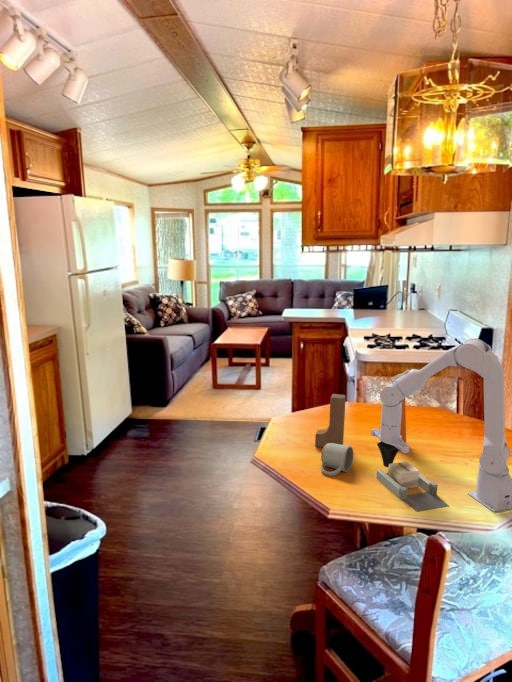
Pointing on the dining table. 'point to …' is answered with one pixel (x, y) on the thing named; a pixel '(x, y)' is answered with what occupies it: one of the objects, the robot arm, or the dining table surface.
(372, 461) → the dining table surface
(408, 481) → the block
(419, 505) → the mat
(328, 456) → the ceramic mug
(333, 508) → the dining table surface
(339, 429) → the wooden block
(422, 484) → the chute
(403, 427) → the spray bottle
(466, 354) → the robot arm
